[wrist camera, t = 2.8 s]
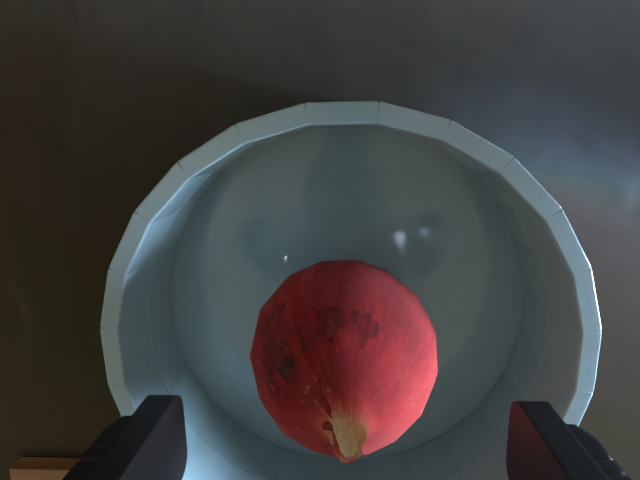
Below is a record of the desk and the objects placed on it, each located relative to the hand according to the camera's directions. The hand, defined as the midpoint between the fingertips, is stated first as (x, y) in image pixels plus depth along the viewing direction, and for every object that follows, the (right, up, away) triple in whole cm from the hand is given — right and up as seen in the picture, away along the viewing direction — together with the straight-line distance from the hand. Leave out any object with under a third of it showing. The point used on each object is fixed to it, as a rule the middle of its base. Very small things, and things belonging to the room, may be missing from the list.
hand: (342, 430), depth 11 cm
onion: (0, +2, +7) cm, 7 cm away
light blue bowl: (0, +2, +7) cm, 7 cm away
